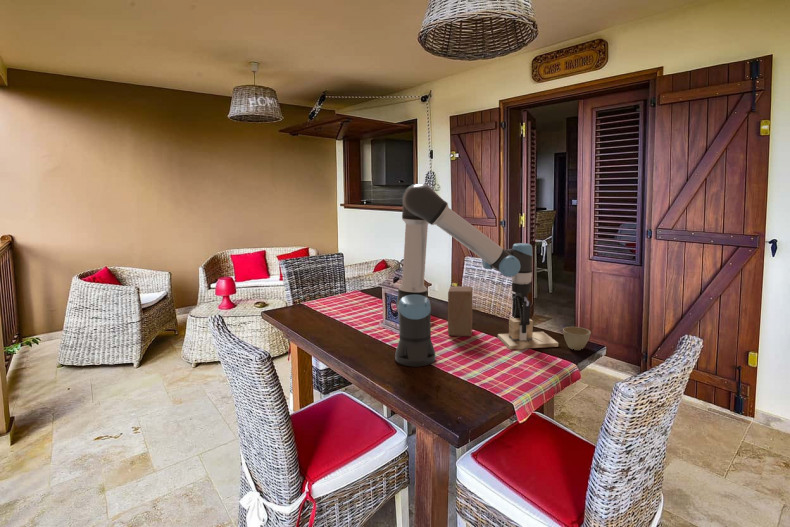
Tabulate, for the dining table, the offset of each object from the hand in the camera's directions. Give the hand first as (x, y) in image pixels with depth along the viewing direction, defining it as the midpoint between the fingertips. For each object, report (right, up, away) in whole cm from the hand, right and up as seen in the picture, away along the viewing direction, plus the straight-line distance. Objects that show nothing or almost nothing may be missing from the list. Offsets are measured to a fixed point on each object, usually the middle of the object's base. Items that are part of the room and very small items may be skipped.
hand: (520, 337), depth 181 cm
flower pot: (+20, -3, -7) cm, 21 cm away
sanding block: (0, 0, 0) cm, 0 cm away
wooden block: (-23, 0, +13) cm, 26 cm away
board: (+3, -2, +1) cm, 4 cm away
